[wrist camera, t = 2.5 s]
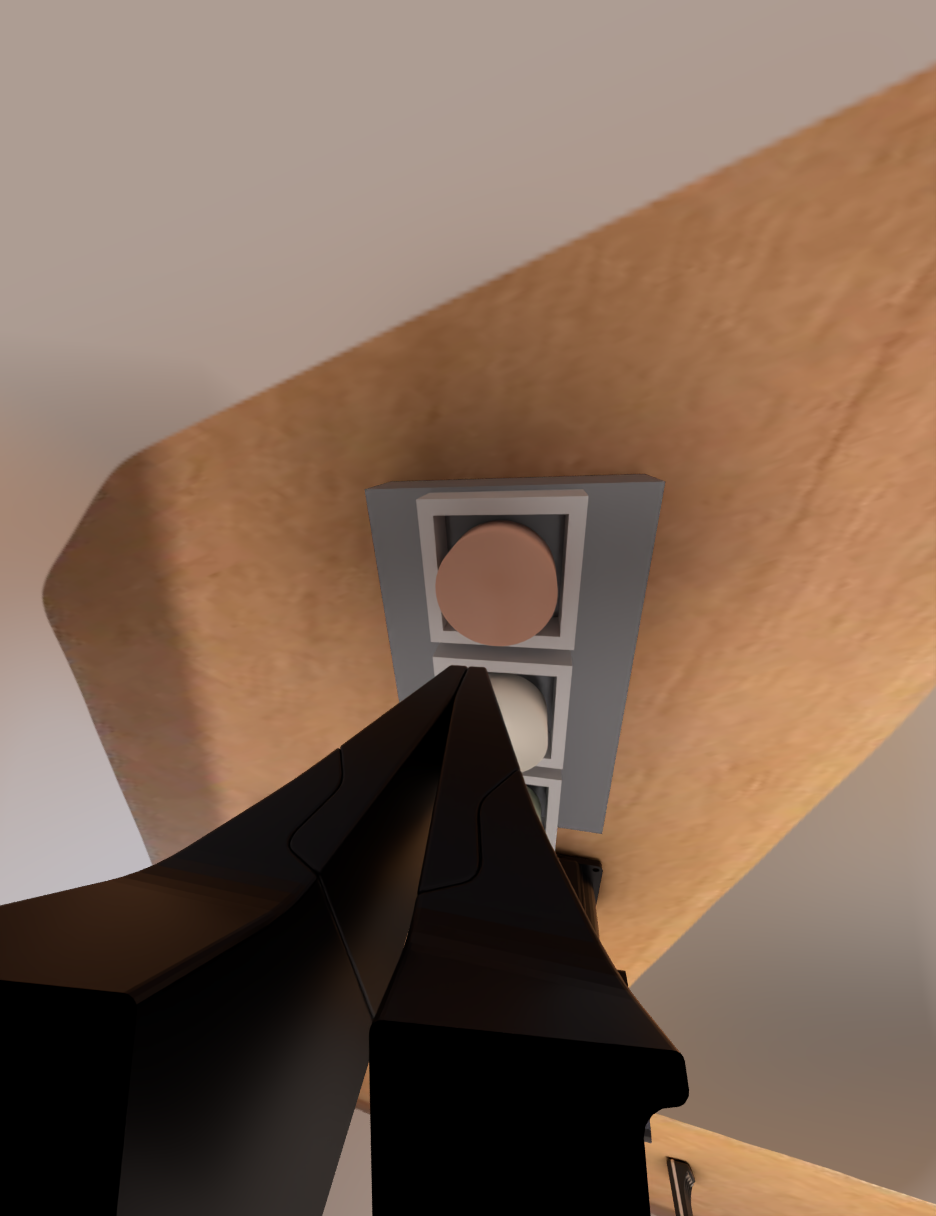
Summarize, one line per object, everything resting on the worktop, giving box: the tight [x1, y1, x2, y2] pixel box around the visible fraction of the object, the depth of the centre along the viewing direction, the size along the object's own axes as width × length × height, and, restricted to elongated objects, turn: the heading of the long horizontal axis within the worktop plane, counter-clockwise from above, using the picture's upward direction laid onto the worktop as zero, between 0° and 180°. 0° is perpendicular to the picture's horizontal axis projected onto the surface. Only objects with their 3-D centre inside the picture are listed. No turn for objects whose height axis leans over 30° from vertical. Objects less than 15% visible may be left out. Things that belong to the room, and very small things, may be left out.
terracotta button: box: [435, 520, 558, 646], centre depth 14 cm, size 4×4×2 cm
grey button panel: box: [365, 474, 665, 851], centre depth 19 cm, size 21×12×5 cm, turn 3°
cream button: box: [488, 672, 548, 772], centre depth 17 cm, size 4×4×2 cm
